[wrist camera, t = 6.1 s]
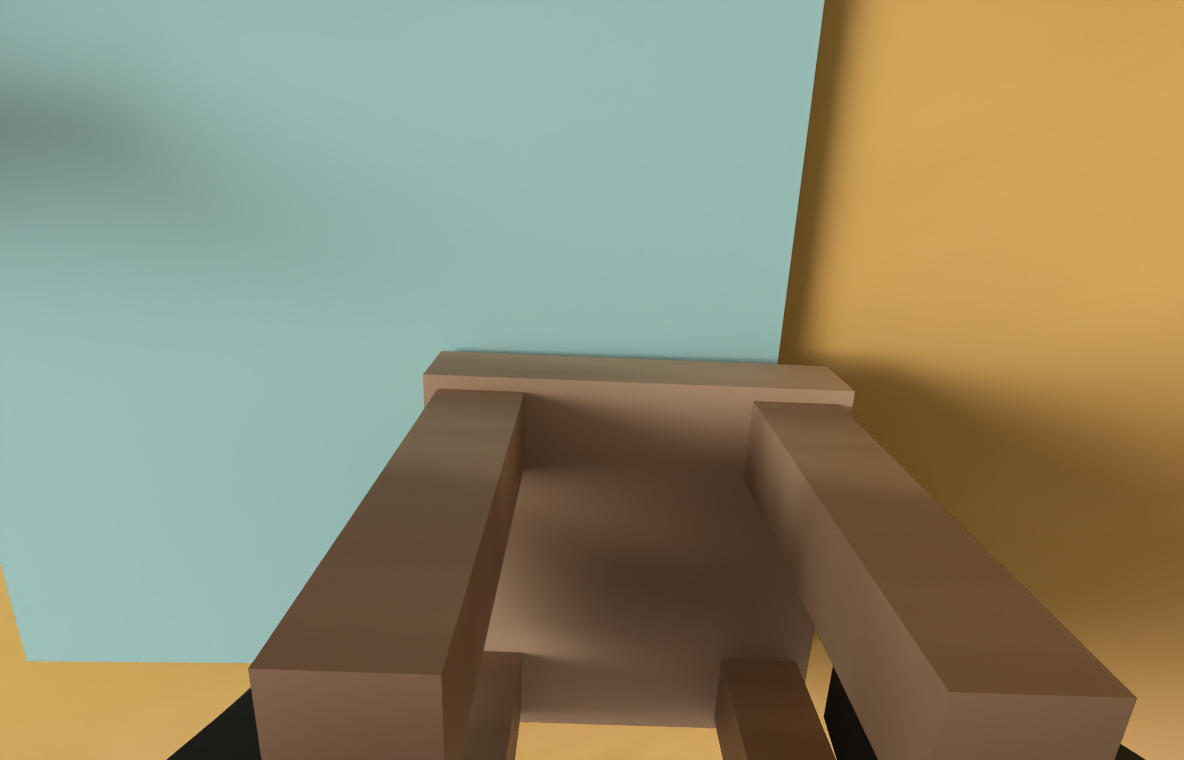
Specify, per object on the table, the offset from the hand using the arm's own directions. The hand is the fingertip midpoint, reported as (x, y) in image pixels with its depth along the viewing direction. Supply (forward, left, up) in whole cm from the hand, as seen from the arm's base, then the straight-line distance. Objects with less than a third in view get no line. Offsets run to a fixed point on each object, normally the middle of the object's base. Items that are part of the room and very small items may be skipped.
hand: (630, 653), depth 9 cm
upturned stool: (0, 0, -3) cm, 3 cm away
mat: (+5, +4, -4) cm, 7 cm away
